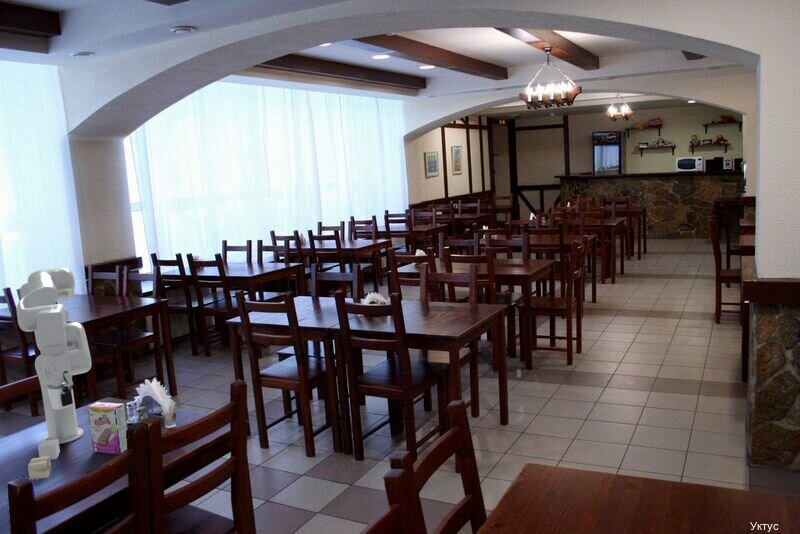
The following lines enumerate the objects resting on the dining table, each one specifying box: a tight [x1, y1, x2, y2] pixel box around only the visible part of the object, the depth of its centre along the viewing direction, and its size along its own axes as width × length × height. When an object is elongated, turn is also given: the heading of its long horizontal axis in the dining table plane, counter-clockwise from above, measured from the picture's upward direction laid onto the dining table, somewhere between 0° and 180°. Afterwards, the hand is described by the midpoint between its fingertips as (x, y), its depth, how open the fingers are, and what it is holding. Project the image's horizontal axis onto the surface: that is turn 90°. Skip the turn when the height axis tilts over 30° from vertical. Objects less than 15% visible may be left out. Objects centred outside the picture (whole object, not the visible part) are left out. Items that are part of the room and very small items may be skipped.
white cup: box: [47, 382, 72, 410], centre depth 211 cm, size 7×7×7 cm
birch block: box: [27, 456, 52, 481], centre depth 207 cm, size 5×5×5 cm
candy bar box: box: [87, 401, 128, 456], centre depth 221 cm, size 11×5×16 cm, turn 74°
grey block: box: [37, 439, 61, 460], centre depth 221 cm, size 5×5×5 cm
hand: (61, 402), depth 211 cm, fingers closed on white cup, 6 cm apart
